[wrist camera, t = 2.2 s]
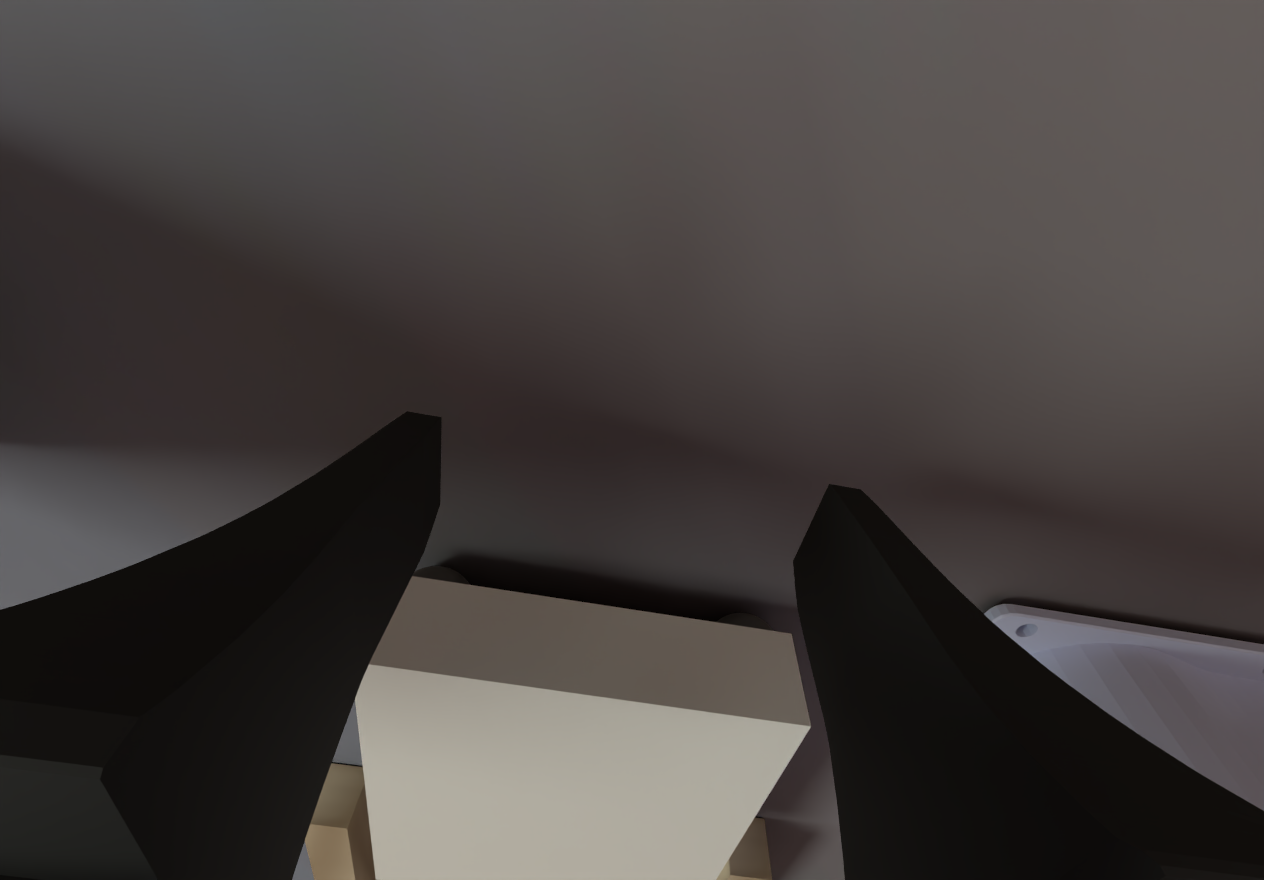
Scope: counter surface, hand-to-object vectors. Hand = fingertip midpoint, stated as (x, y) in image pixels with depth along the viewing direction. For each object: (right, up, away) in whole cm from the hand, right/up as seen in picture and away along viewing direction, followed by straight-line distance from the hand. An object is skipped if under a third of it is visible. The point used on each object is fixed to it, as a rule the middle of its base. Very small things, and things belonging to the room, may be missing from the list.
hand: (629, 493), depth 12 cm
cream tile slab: (-2, -7, +8) cm, 11 cm away
